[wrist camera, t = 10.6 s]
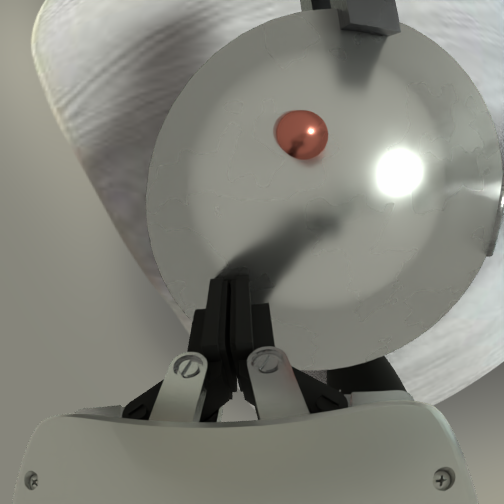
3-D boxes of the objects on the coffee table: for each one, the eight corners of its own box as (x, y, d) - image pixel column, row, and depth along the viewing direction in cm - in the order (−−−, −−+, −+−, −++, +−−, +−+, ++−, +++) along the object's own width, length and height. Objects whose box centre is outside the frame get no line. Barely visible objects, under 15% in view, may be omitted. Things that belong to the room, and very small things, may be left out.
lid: (480, -9, 6) (508, -14, 3) (457, 321, 17) (473, 343, 14) (126, -45, 6) (106, -67, 3) (199, 368, 17) (196, 400, 14)
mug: (318, 343, 30) (338, 419, 22) (389, 326, 30) (424, 392, 21) (317, 396, 36) (330, 457, 27) (375, 382, 36) (396, 438, 27)
